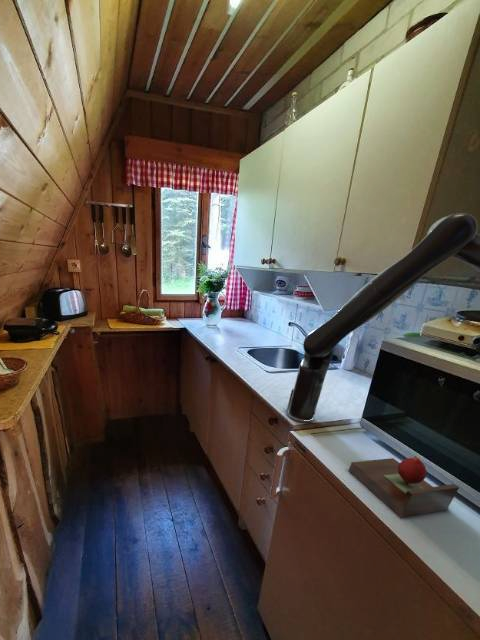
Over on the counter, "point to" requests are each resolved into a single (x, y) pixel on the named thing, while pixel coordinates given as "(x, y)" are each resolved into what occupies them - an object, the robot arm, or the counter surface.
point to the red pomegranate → (412, 470)
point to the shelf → (401, 488)
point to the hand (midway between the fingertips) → (457, 390)
